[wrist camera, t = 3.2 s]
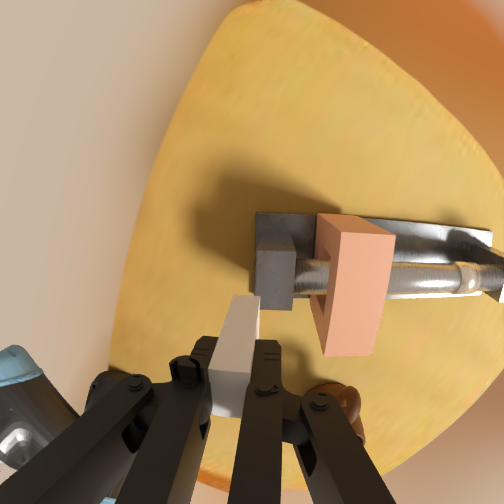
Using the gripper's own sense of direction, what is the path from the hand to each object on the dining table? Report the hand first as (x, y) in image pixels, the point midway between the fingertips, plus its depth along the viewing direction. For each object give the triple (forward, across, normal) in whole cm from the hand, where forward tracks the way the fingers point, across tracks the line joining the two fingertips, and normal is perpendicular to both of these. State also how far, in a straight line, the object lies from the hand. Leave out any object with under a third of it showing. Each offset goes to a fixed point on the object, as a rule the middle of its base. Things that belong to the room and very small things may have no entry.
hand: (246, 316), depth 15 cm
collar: (+13, +8, 0) cm, 15 cm away
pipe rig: (+14, +16, 0) cm, 21 cm away
